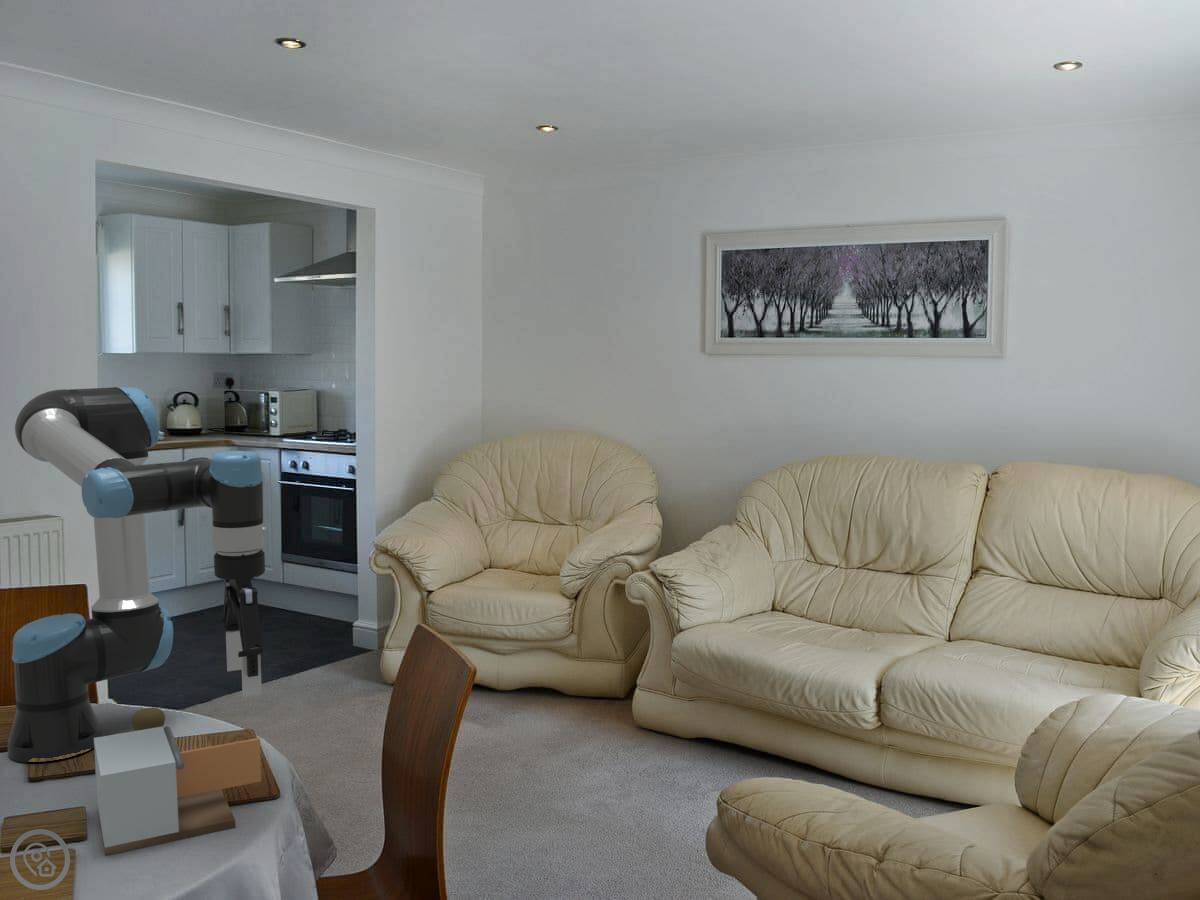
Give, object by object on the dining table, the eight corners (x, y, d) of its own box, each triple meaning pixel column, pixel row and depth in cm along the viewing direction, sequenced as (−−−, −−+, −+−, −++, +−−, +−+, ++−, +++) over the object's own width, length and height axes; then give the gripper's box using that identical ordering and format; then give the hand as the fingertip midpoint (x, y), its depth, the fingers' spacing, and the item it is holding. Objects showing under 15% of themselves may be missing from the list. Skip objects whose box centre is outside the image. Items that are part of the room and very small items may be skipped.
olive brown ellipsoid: (156, 780, 177) (153, 717, 176) (124, 777, 178) (120, 715, 177) (177, 766, 183) (174, 705, 181) (146, 763, 184) (143, 702, 183)
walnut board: (97, 811, 166) (97, 804, 165) (217, 787, 174) (217, 780, 174) (105, 855, 152) (104, 847, 152) (235, 827, 160) (234, 819, 160)
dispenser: (97, 804, 165) (93, 738, 164) (173, 789, 171) (170, 725, 170) (104, 847, 152) (100, 775, 150) (187, 830, 157) (184, 760, 156)
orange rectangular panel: (153, 800, 162) (151, 756, 161) (260, 779, 170) (258, 737, 169) (154, 802, 161) (152, 758, 161) (261, 781, 169) (259, 739, 168)
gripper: (281, 564, 155) (285, 702, 158) (248, 534, 177) (253, 656, 179) (228, 569, 152) (233, 711, 154) (201, 538, 173) (206, 663, 176)
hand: (243, 682), depth 167 cm, fingers open, 13 cm apart
